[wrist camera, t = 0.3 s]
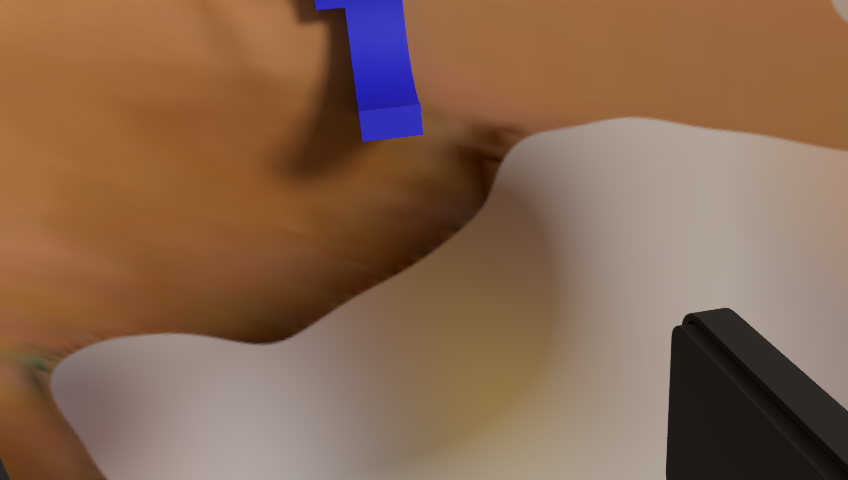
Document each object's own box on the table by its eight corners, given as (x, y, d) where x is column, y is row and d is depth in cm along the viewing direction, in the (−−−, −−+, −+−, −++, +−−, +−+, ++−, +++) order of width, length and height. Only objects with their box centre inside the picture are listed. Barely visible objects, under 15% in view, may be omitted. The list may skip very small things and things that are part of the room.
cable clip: (298, -118, 34) (291, -133, 29) (387, -125, 34) (398, -142, 29) (332, 119, 39) (332, 145, 33) (410, 110, 39) (423, 134, 34)
